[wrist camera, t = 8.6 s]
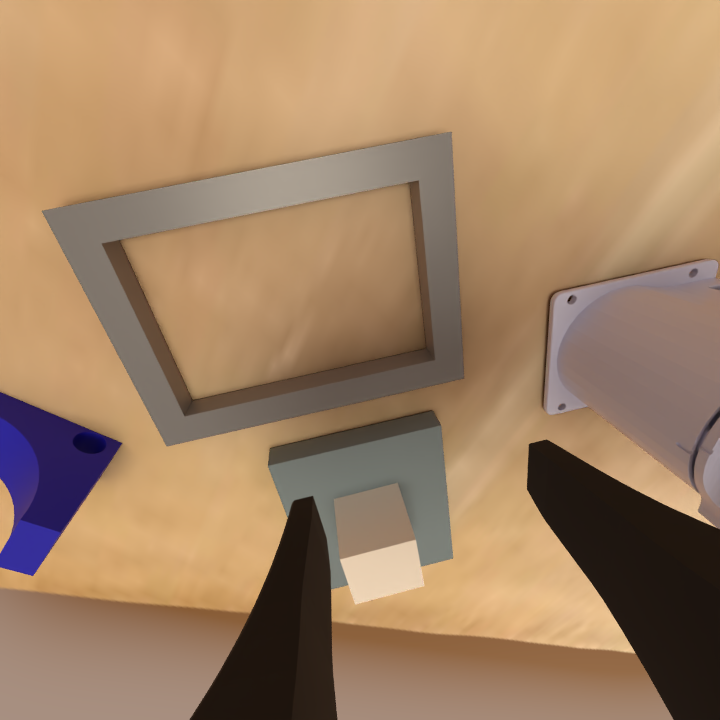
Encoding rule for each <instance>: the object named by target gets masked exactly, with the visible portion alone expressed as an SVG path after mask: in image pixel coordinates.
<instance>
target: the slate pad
mask: <svg viewBox="0 0 720 720" xmlns="http://www.w3.org/2000/svg"><path fill="white" fill-rule="evenodd" d="M268 468H269V470H270V473H271V475H272V478H273V481H274V483H275V486H276V488H277V491H278V494H279V496H280V499H281V502H282V504H283V507H284V509H285V512H286V515H287V517H288V516H289V512H290V508H291V504H292V503H293V501H294V500H297V499H301V498H306V497H310V496H313V497H314V500H315V503H316V506H317V509H318V512H319V516H320V519H321V522H322V525H323V528H324V531H325V534H326V537H327V544H328V552H329V561H330V570H331V589H335V588H339V587H343V586H346V585H348V582H347V579H346V576H345V573H344V570H343V567H342V564H341V561H340V556H339V546H338V536H337V527H336V517H335V507H334V499H336V498H340V497H344V496H348V495H352V494H356V493H360V492H364V491H368V490H371V489H375V488H379V487H383V486H387V485H391V484H395V483H398V485H399V489H400V492H401V495H402V498H403V501H404V504H405V507H406V511H407V514H408V517H409V520H410V523H411V526H412V529H413V532H414V536H415V539H416V543H417V549H418V554H419V559H420V565H421V566H425V565H429V564H433V563H437V562H441V561H445V560H449V559H453V551H452V540H451V529H450V518H449V507H448V496H447V485H446V474H445V463H444V452H443V441H442V430H441V424H440V423H439V421H438V419H437V417H436V416H435V414H434V412H433V411H430V412H425V413H421V414H417V415H412V416H408V417H404V418H400V419H395V420H391V421H387V422H382V423H378V424H374V425H369V426H365V427H361V428H356V429H352V430H348V431H344V432H339V433H335V434H331V435H326V436H322V437H318V438H313V439H309V440H305V441H300V442H296V443H292V444H288V445H283V446H279V447H275V448H270V452H269V461H268Z"/></svg>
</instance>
